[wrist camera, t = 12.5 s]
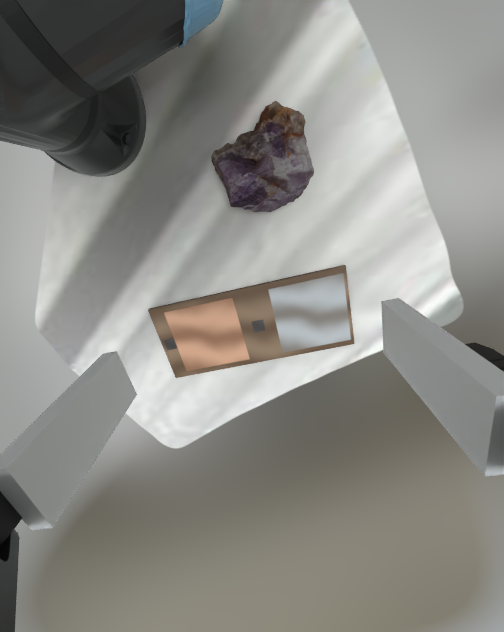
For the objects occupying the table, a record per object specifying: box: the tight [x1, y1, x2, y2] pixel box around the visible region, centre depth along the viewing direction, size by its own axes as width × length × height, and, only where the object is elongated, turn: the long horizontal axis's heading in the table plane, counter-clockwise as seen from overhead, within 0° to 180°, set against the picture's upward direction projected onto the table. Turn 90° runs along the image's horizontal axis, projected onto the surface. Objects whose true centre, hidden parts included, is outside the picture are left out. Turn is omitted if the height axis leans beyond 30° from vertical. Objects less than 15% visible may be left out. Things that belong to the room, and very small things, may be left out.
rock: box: [212, 101, 314, 212], centre depth 35 cm, size 12×8×10 cm
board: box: [148, 265, 354, 378], centre depth 47 cm, size 14×33×1 cm, turn 103°
